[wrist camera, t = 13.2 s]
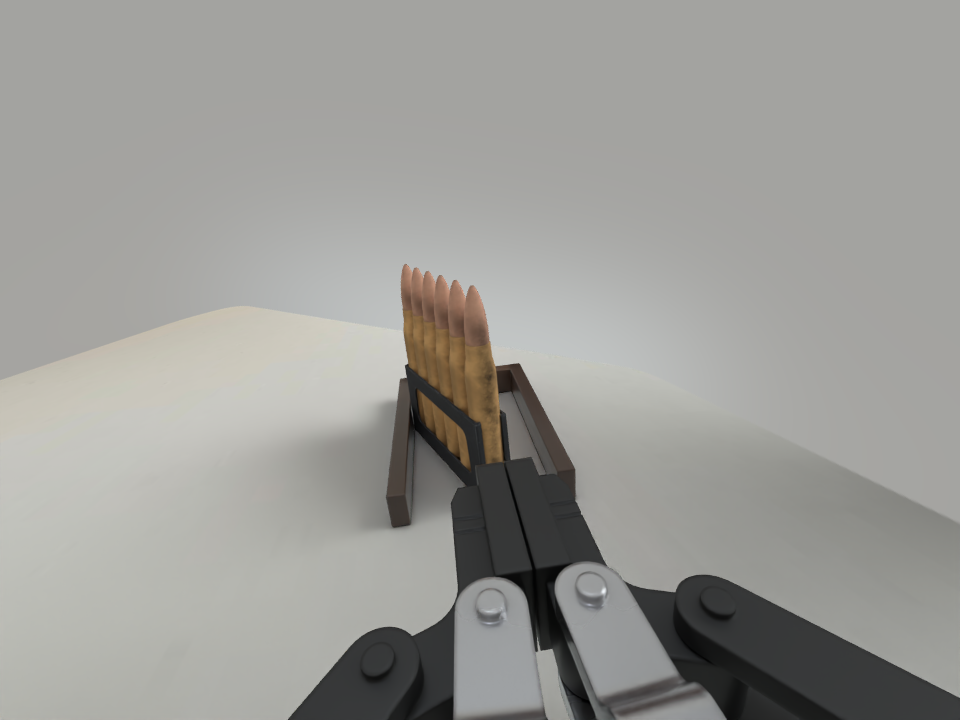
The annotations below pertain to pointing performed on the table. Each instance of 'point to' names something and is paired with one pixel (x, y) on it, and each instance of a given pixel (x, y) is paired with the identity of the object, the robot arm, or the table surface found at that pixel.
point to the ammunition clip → (452, 374)
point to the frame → (532, 414)
